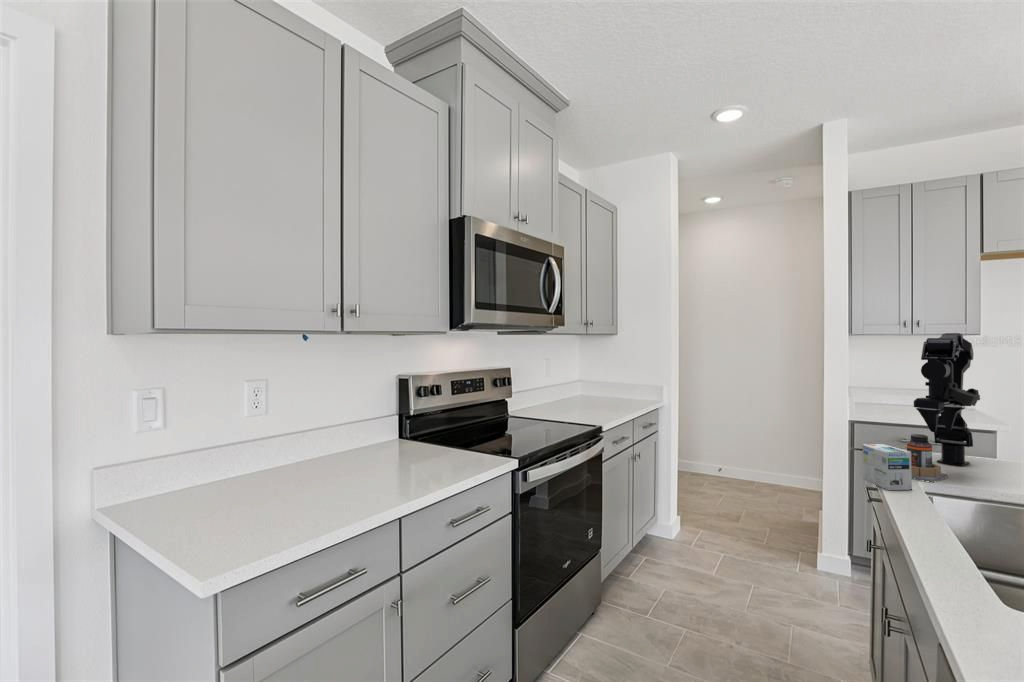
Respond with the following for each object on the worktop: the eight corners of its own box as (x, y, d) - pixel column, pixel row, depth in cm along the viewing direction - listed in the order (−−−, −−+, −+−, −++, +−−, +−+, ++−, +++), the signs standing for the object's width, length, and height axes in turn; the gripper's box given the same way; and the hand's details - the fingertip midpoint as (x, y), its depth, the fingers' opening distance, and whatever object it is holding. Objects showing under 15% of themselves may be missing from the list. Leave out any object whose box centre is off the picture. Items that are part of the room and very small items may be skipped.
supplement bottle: (901, 470, 153) (901, 433, 153) (919, 469, 154) (918, 432, 154) (919, 475, 147) (919, 437, 147) (937, 474, 148) (937, 436, 148)
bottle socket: (908, 469, 157) (908, 458, 157) (947, 477, 148) (947, 465, 148) (892, 474, 152) (891, 463, 152) (931, 482, 143) (931, 470, 143)
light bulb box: (913, 490, 138) (912, 451, 137) (888, 491, 138) (887, 452, 138) (884, 479, 148) (884, 443, 148) (862, 479, 148) (861, 443, 148)
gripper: (958, 381, 140) (959, 437, 140) (989, 379, 148) (990, 432, 148) (912, 379, 150) (912, 431, 149) (943, 377, 158) (944, 427, 158)
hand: (941, 430), depth 151 cm, fingers open, 9 cm apart
